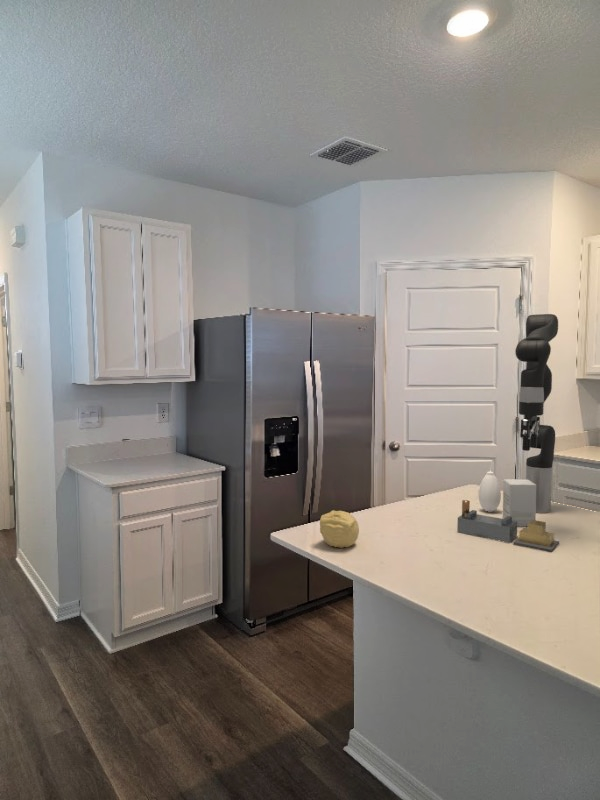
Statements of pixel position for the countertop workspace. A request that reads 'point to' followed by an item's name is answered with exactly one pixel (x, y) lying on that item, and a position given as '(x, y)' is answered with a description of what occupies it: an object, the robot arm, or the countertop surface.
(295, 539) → the countertop surface
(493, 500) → the white ovoid vessel
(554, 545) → the rubber mat
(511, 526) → the grey block holder tray
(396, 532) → the countertop surface
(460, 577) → the countertop surface
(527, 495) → the supplement box
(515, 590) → the countertop surface
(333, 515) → the pale yellow lumpy ball
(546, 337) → the robot arm
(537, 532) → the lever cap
